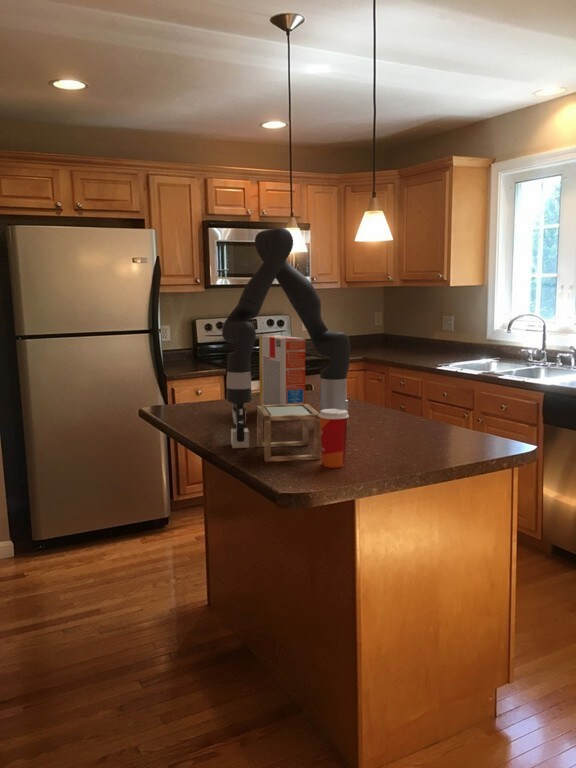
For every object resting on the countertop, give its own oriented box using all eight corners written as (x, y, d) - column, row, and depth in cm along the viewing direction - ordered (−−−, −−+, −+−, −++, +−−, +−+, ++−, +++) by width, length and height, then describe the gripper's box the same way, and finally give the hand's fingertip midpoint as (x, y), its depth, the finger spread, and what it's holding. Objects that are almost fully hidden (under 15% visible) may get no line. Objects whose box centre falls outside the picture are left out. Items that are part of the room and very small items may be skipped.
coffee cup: (330, 459, 183) (330, 407, 181) (354, 464, 178) (355, 410, 176) (312, 465, 177) (312, 411, 174) (336, 470, 171) (337, 415, 169)
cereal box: (305, 418, 244) (305, 338, 240) (286, 420, 240) (285, 339, 236) (277, 408, 264) (277, 334, 260) (259, 410, 260) (259, 335, 256)
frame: (307, 444, 202) (307, 403, 200) (320, 459, 183) (320, 414, 181) (257, 446, 199) (256, 405, 197) (265, 461, 181) (264, 416, 179)
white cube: (247, 443, 203) (247, 428, 202) (249, 447, 198) (248, 431, 197) (231, 444, 202) (231, 428, 201) (232, 448, 197) (232, 432, 196)
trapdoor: (302, 409, 198) (302, 405, 198) (312, 418, 183) (312, 414, 183) (265, 410, 196) (265, 407, 196) (272, 419, 181) (272, 416, 181)
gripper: (253, 389, 191) (253, 443, 193) (248, 383, 205) (248, 433, 207) (228, 389, 190) (228, 444, 192) (224, 383, 203) (225, 434, 206)
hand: (239, 438), depth 199 cm, fingers open, 8 cm apart
